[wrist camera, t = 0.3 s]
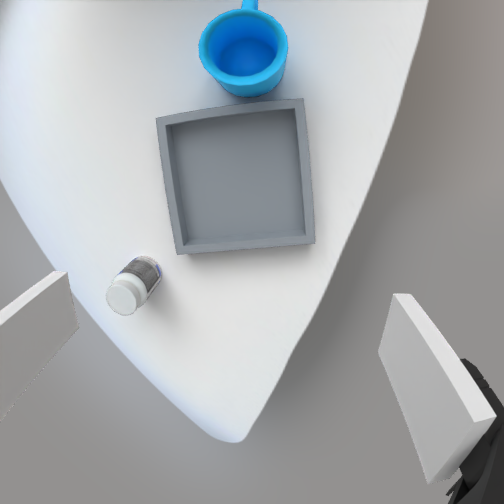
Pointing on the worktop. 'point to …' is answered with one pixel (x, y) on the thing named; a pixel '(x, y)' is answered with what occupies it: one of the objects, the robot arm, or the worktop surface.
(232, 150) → the tray
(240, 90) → the mug
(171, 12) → the worktop surface
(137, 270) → the pill bottle
